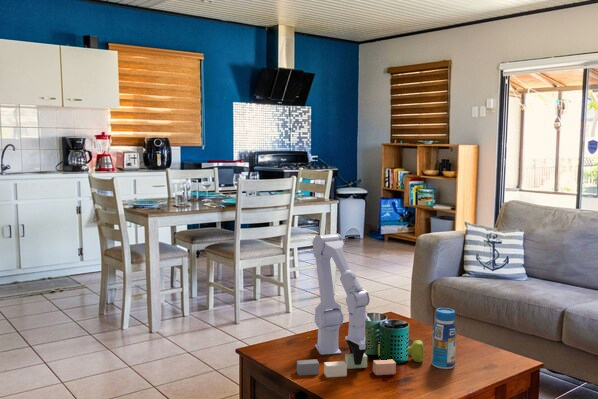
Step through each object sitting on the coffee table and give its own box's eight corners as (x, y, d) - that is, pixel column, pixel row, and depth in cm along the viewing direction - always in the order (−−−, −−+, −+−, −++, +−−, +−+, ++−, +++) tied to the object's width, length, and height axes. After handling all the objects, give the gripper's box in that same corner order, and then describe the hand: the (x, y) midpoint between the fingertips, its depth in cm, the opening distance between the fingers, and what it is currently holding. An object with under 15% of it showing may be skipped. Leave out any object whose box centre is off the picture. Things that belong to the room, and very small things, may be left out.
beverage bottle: (428, 360, 214) (430, 306, 212) (450, 360, 214) (453, 306, 212) (435, 369, 205) (437, 314, 203) (458, 369, 206) (461, 313, 204)
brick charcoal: (296, 371, 203) (296, 360, 202) (316, 370, 204) (316, 359, 203) (298, 375, 199) (298, 364, 199) (318, 374, 200) (319, 363, 200)
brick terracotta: (372, 371, 204) (373, 360, 203) (392, 370, 205) (392, 359, 205) (376, 375, 200) (376, 364, 200) (395, 374, 202) (396, 363, 201)
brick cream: (324, 373, 201) (324, 362, 201) (343, 372, 203) (344, 361, 202) (326, 377, 198) (326, 366, 197) (346, 376, 199) (346, 365, 199)
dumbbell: (377, 362, 212) (378, 342, 212) (377, 354, 220) (378, 335, 219) (424, 365, 210) (424, 345, 209) (422, 357, 218) (423, 338, 217)
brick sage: (345, 364, 209) (345, 353, 208) (364, 363, 210) (364, 352, 210) (347, 368, 205) (348, 357, 205) (367, 367, 207) (367, 356, 206)
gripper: (340, 318, 213) (339, 355, 214) (351, 332, 198) (350, 370, 200) (359, 317, 214) (358, 354, 215) (371, 331, 200) (370, 369, 201)
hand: (356, 362), depth 208 cm, fingers closed on brick sage, 3 cm apart
